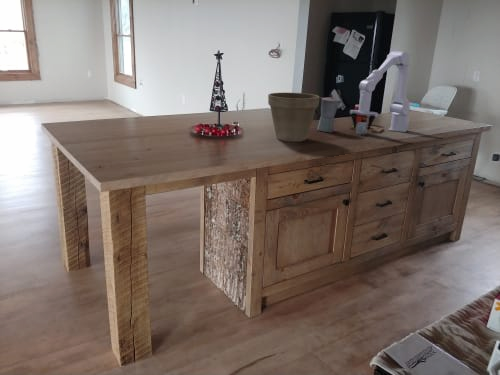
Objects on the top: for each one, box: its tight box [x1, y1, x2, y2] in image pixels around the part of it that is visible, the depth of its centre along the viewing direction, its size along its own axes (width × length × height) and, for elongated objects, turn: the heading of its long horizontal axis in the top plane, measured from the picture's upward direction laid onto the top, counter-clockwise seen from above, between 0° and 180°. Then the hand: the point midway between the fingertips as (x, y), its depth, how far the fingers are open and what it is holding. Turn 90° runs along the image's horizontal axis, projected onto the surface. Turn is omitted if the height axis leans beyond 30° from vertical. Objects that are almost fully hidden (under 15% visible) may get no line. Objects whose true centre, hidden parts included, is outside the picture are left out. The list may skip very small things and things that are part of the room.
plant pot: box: [267, 92, 320, 143], centre depth 221 cm, size 25×25×22 cm
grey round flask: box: [355, 122, 369, 135], centre depth 243 cm, size 9×6×6 cm, turn 152°
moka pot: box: [315, 94, 343, 133], centre depth 244 cm, size 10×15×20 cm, turn 78°
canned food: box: [354, 104, 368, 124], centre depth 272 cm, size 8×8×11 cm
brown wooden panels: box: [350, 124, 384, 134], centre depth 256 cm, size 16×11×1 cm
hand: (361, 128), depth 245 cm, fingers open, 7 cm apart
